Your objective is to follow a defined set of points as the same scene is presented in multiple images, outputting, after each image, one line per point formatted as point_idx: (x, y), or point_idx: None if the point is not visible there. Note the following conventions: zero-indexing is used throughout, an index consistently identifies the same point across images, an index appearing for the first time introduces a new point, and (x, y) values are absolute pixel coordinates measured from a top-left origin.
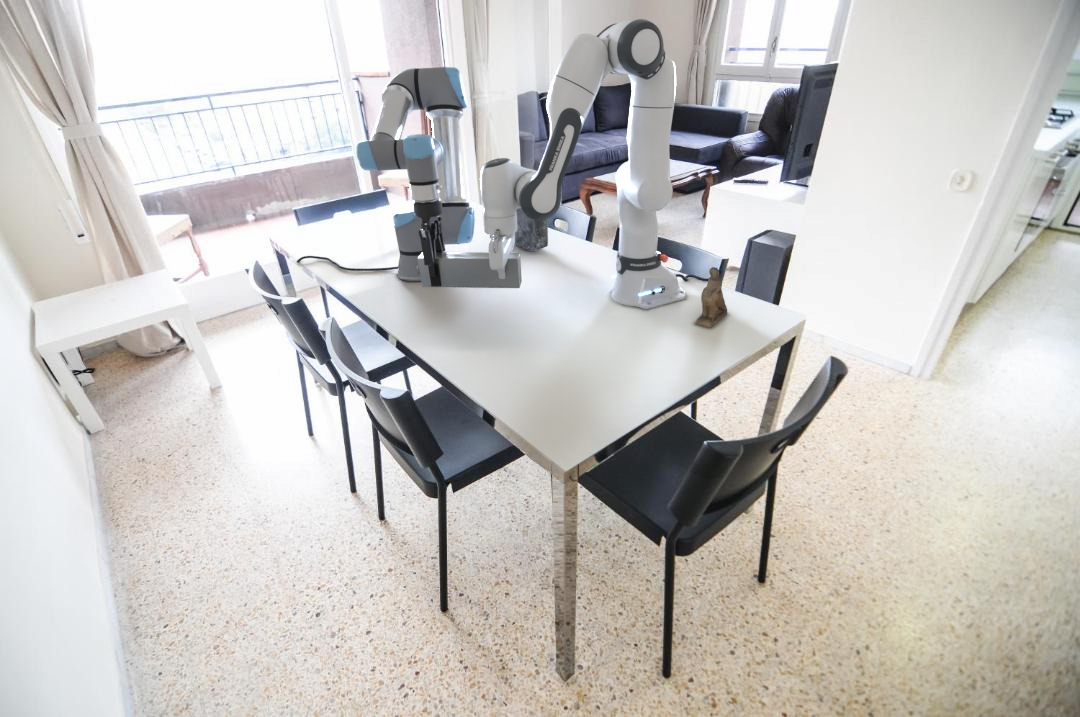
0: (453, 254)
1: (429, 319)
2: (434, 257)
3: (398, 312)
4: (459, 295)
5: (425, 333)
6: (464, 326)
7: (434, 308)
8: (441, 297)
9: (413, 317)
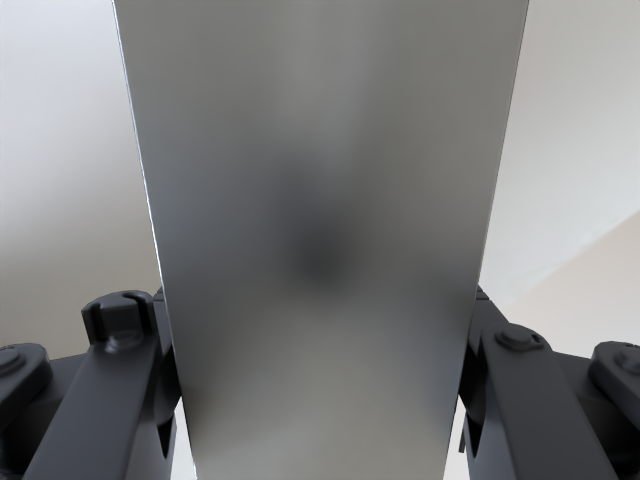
0: (274, 130)
1: None
2: (584, 415)
3: None
4: (101, 165)
5: (498, 216)
6: None
7: None
8: (143, 245)
9: None
